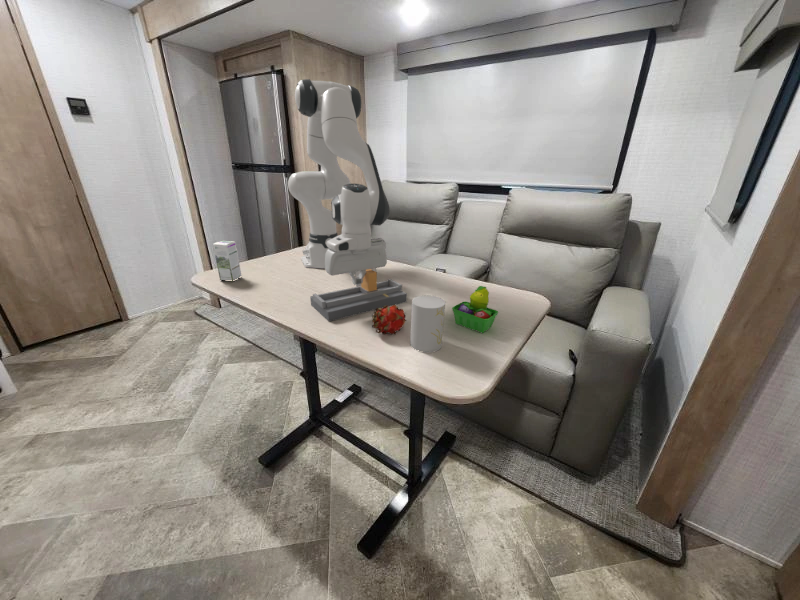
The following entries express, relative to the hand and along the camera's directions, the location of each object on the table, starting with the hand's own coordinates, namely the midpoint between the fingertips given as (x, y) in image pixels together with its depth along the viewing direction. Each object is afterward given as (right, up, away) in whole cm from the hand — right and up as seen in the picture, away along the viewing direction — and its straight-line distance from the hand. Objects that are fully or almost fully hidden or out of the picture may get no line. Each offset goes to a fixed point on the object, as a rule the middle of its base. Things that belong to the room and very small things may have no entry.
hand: (357, 283), depth 104 cm
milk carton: (+1, +1, +20) cm, 20 cm away
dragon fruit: (+11, -14, -14) cm, 22 cm away
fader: (+3, -3, +3) cm, 5 cm away
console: (0, -6, +3) cm, 7 cm away
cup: (+20, -17, -20) cm, 33 cm away
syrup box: (-51, +2, +21) cm, 56 cm away
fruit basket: (+35, -13, -9) cm, 39 cm away
